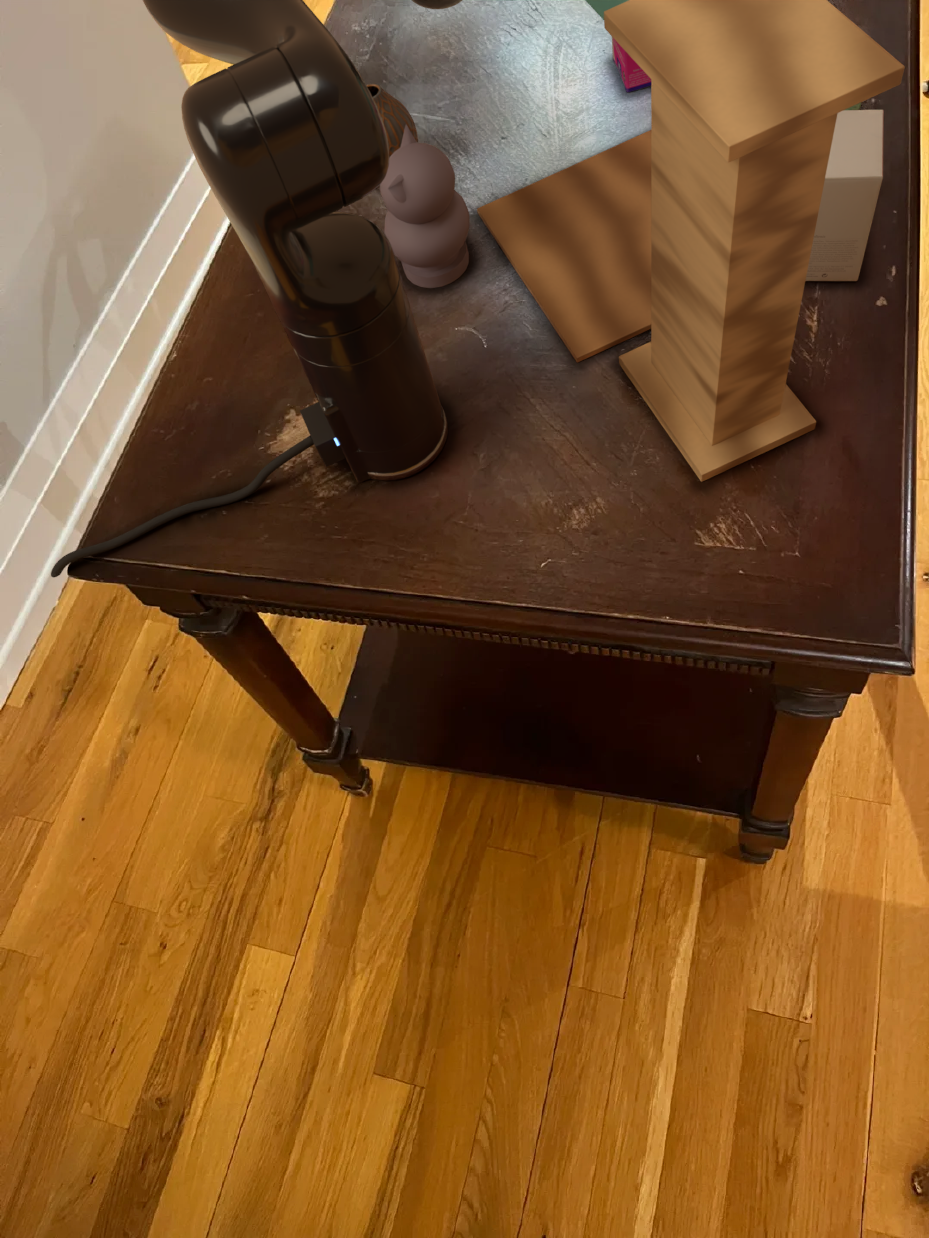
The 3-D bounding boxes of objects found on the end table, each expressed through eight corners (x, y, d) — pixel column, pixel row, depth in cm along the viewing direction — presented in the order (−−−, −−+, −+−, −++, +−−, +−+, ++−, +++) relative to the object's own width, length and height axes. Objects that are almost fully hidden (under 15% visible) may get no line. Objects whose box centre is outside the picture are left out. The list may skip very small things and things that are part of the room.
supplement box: (610, 61, 98) (605, -56, 88) (665, 45, 98) (667, -74, 88) (624, 95, 95) (621, -22, 85) (681, 79, 95) (685, -41, 85)
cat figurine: (470, 297, 87) (445, 188, 76) (389, 298, 89) (354, 191, 78) (483, 230, 90) (461, 117, 80) (405, 232, 92) (374, 122, 82)
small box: (857, 284, 80) (884, 178, 70) (788, 283, 81) (806, 179, 72) (860, 216, 83) (886, 106, 74) (793, 216, 84) (811, 109, 75)
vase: (351, 164, 98) (325, 85, 90) (411, 138, 98) (391, 58, 91) (371, 203, 95) (346, 125, 87) (433, 177, 95) (414, 97, 87)
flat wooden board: (577, 363, 81) (576, 358, 81) (477, 213, 92) (476, 208, 91) (783, 268, 82) (784, 262, 81) (661, 130, 92) (661, 124, 92)
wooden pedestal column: (701, 482, 74) (729, 146, 47) (619, 364, 80) (603, 11, 54) (814, 429, 74) (905, 66, 48) (723, 316, 81) (758, -59, 54)
